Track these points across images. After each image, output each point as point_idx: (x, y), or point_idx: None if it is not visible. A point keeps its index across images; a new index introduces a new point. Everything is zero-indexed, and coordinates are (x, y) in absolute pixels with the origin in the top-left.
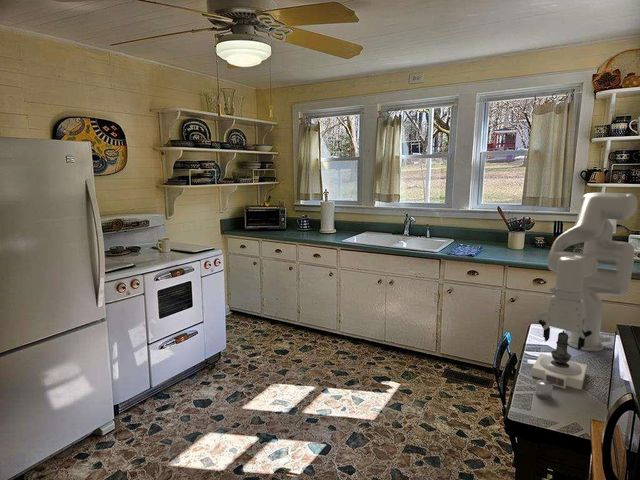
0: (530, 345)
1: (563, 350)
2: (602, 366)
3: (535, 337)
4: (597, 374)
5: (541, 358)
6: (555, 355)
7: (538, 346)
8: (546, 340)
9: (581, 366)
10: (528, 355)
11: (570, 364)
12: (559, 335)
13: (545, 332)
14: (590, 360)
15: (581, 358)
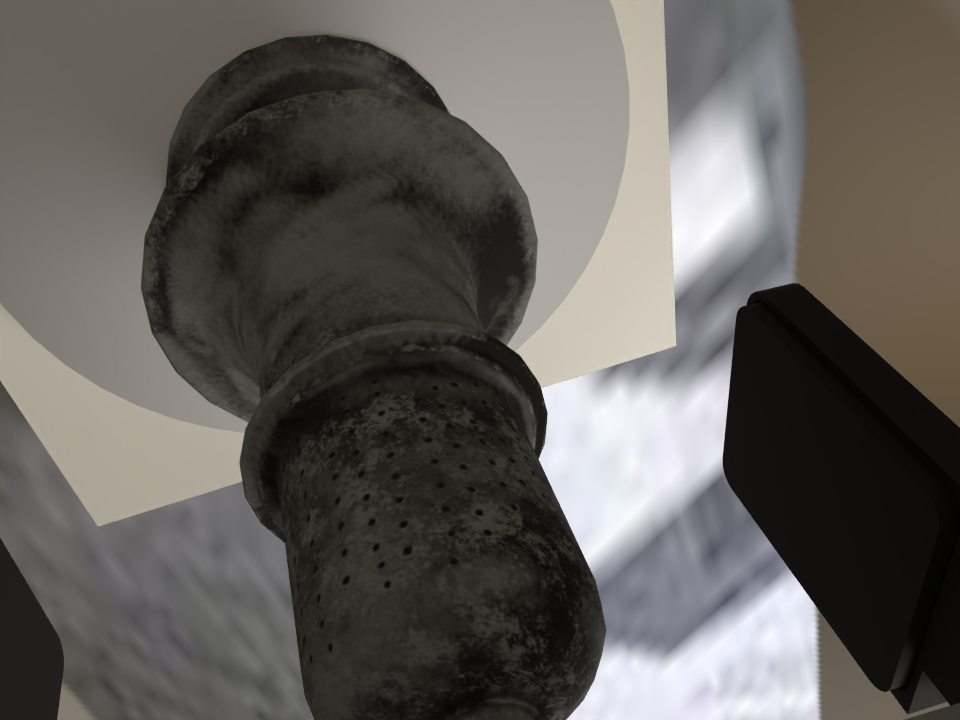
0: None
1: (294, 295)
2: (114, 698)
3: (782, 687)
4: (13, 519)
5: (620, 146)
6: (397, 107)
7: (725, 577)
8: (758, 306)
9: (110, 428)
10: None
11: None
12: (541, 554)
13: (953, 433)
14: (261, 707)
15: None
